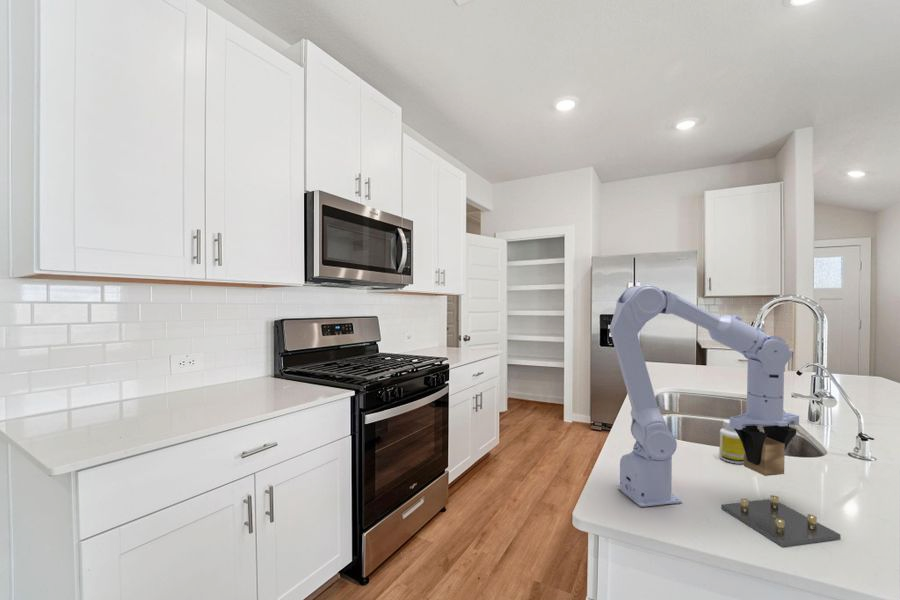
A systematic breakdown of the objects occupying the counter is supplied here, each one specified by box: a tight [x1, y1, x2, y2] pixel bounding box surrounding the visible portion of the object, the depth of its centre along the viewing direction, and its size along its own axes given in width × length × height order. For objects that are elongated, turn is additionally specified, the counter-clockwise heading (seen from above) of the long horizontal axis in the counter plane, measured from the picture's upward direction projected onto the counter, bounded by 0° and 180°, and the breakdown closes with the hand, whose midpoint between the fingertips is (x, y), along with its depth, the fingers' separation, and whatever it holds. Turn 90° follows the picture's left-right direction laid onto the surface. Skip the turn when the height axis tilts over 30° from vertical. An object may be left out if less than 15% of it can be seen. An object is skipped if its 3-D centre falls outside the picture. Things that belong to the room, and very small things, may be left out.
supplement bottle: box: [718, 419, 744, 465], centre depth 100 cm, size 5×5×10 cm
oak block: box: [743, 437, 786, 477], centre depth 79 cm, size 4×4×6 cm
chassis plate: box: [720, 494, 842, 548], centre depth 73 cm, size 12×12×3 cm
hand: (763, 461), depth 79 cm, fingers closed on oak block, 4 cm apart
